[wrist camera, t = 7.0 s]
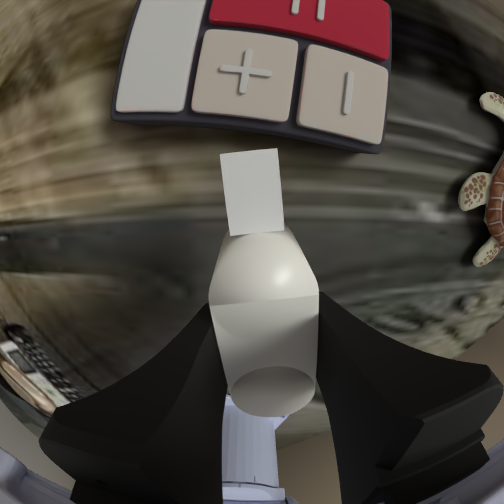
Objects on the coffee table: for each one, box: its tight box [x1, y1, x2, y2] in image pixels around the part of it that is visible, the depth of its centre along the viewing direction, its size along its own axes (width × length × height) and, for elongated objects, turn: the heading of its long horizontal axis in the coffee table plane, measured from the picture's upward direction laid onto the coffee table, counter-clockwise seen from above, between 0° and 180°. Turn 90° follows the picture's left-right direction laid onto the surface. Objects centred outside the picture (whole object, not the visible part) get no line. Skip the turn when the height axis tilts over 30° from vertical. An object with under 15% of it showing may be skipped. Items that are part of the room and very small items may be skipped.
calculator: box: [111, 0, 392, 154], centre depth 12 cm, size 11×4×15 cm
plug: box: [209, 148, 319, 417], centre depth 9 cm, size 9×3×4 cm, turn 6°
